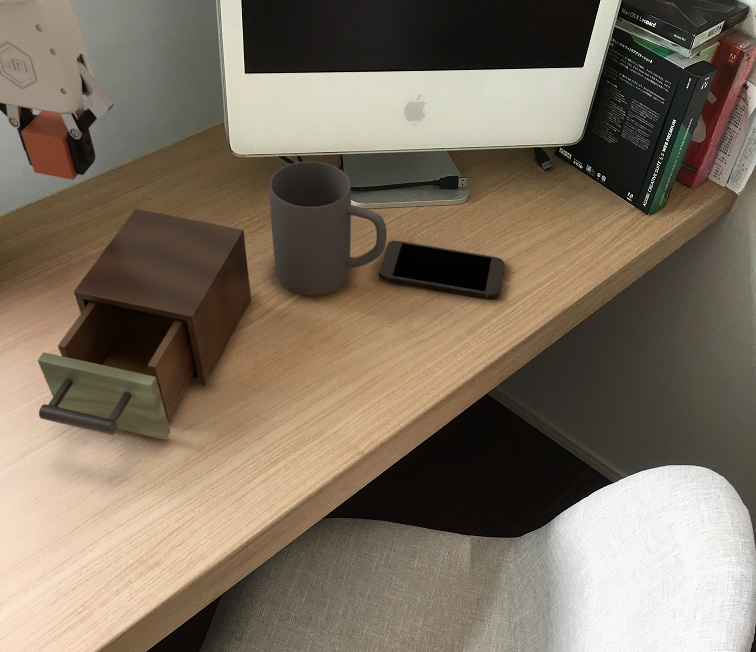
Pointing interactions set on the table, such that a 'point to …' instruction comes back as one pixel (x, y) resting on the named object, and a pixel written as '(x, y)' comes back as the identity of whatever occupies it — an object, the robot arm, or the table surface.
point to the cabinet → (176, 278)
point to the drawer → (118, 371)
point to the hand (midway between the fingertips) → (62, 161)
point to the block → (49, 145)
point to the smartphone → (442, 269)
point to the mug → (316, 228)
